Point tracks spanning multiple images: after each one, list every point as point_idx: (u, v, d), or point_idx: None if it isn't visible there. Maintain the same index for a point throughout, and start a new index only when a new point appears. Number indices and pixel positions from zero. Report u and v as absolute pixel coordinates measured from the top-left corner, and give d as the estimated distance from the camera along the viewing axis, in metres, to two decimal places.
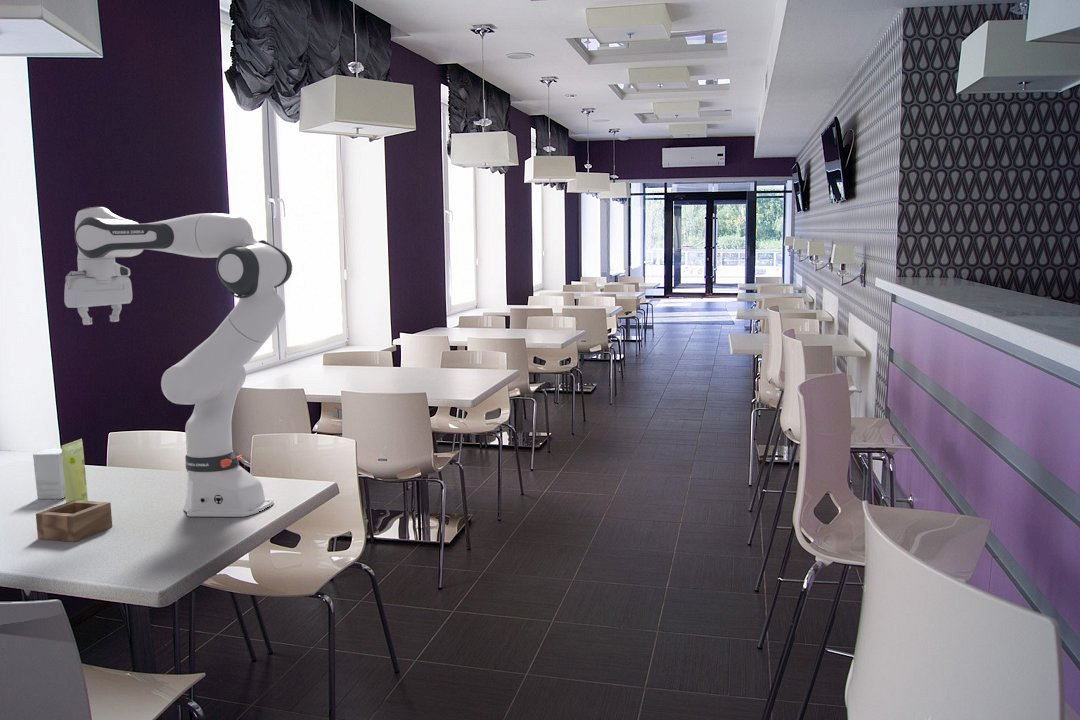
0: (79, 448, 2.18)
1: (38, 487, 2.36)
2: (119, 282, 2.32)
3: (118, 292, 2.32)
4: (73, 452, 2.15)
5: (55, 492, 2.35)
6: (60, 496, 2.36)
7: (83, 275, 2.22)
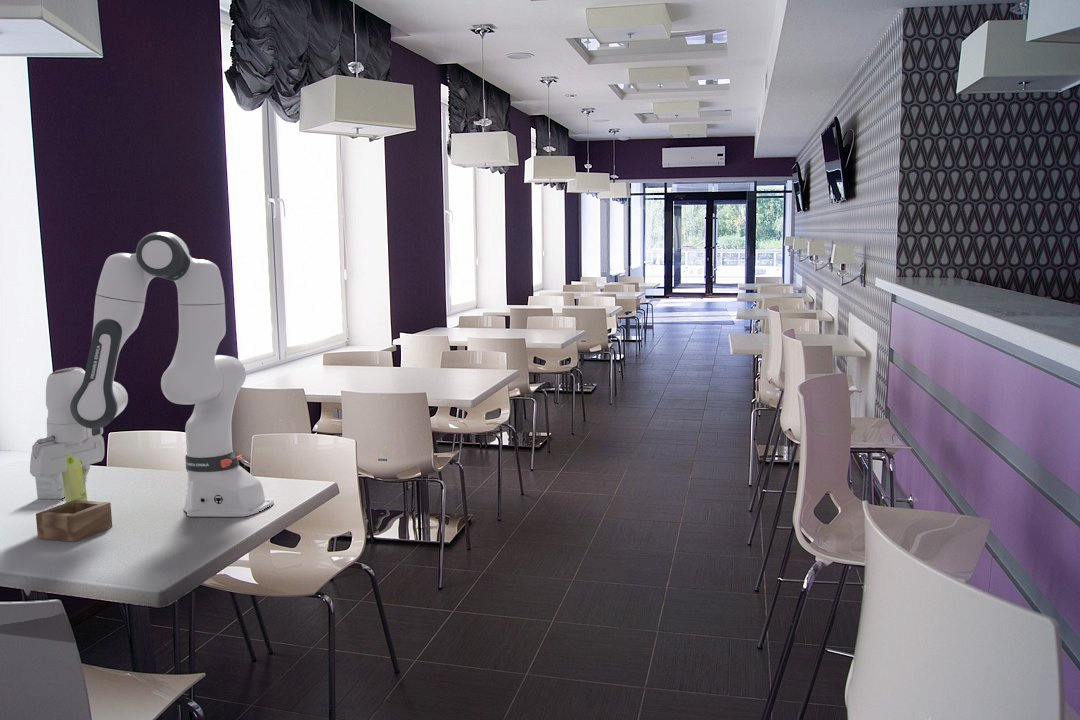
0: None
1: (38, 487, 2.36)
2: (91, 442, 2.21)
3: (88, 452, 2.20)
4: None
5: (55, 492, 2.35)
6: (60, 496, 2.36)
7: (51, 441, 2.11)
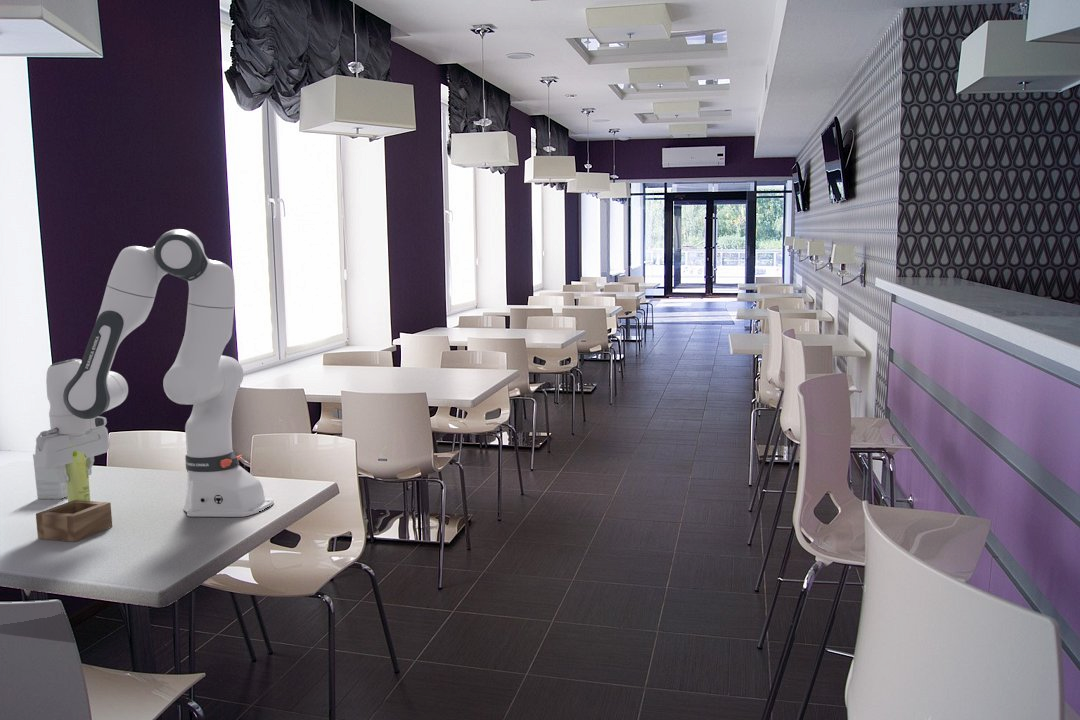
0: None
1: (38, 487, 2.36)
2: (95, 433, 2.21)
3: (93, 443, 2.20)
4: (74, 445, 2.15)
5: (55, 492, 2.35)
6: (60, 496, 2.36)
7: (55, 433, 2.11)
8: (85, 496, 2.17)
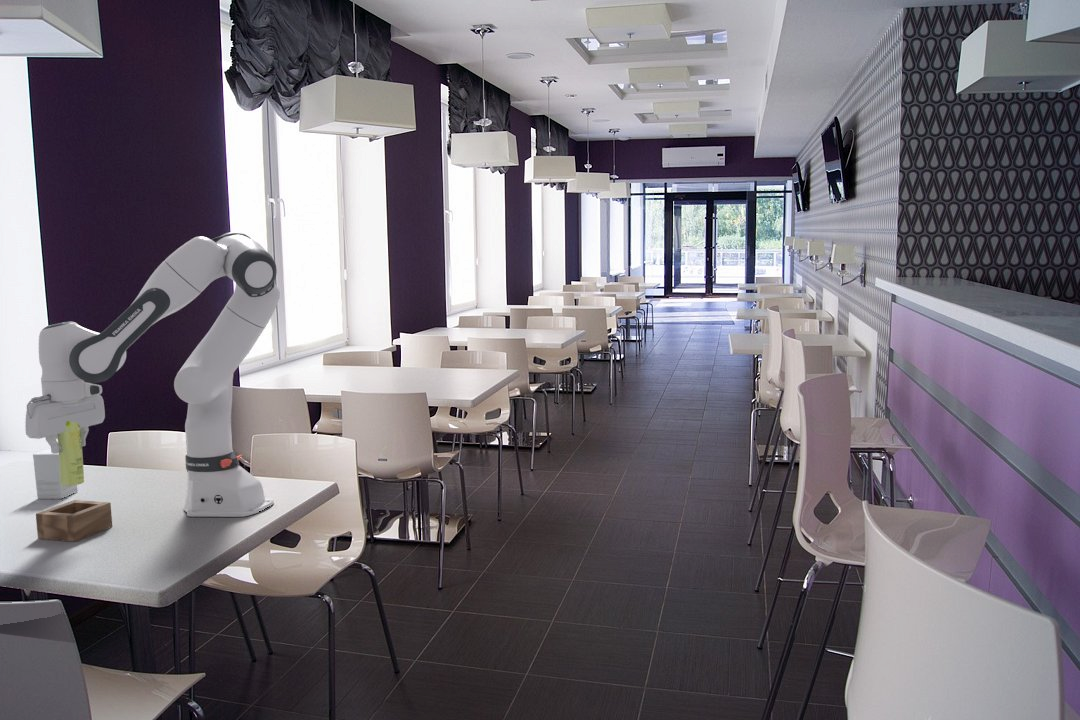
0: None
1: (38, 487, 2.36)
2: (90, 402, 2.08)
3: (88, 413, 2.07)
4: None
5: (55, 492, 2.35)
6: (60, 496, 2.36)
7: (47, 400, 1.98)
8: (78, 468, 2.04)
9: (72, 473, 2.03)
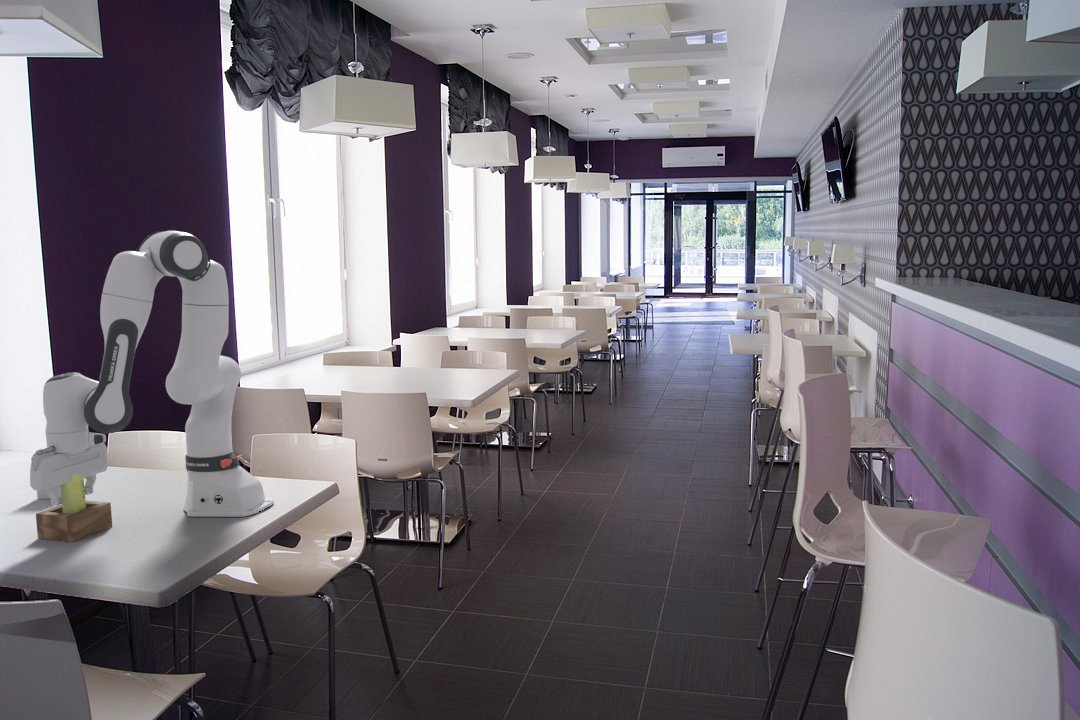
0: None
1: None
2: (94, 451, 2.09)
3: (91, 462, 2.08)
4: None
5: None
6: (60, 496, 2.36)
7: (52, 451, 1.99)
8: None
9: None
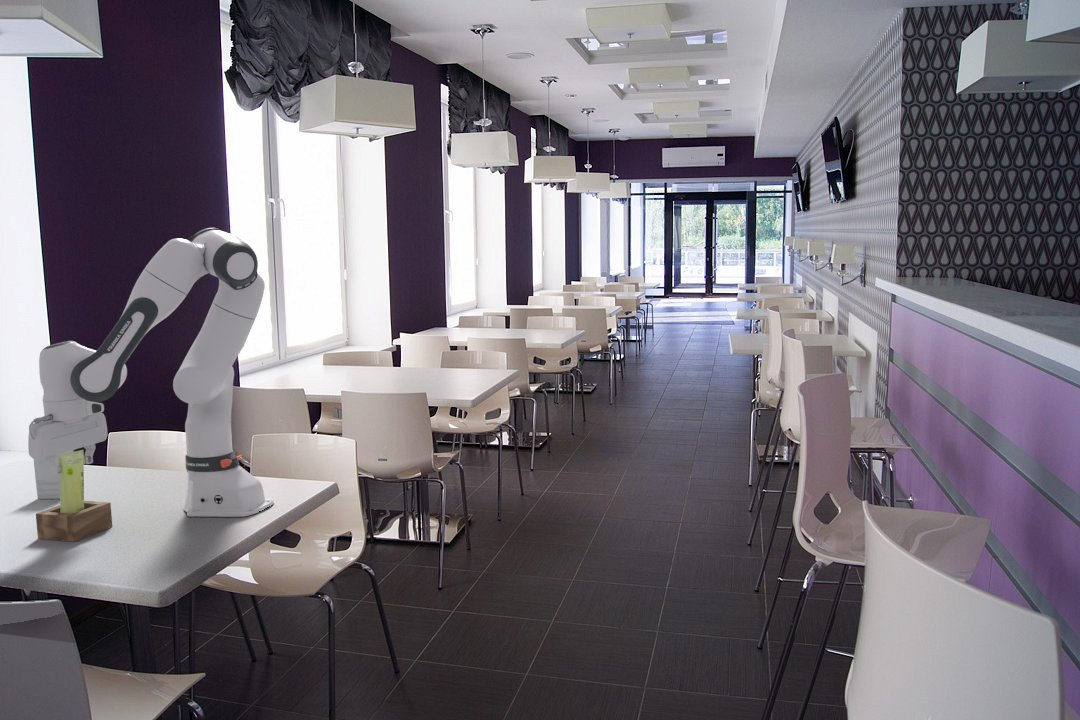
0: (79, 459, 2.05)
1: (38, 487, 2.36)
2: (92, 420, 2.08)
3: (90, 431, 2.08)
4: (71, 463, 2.03)
5: (55, 492, 2.35)
6: None
7: (49, 420, 1.98)
8: None
9: None
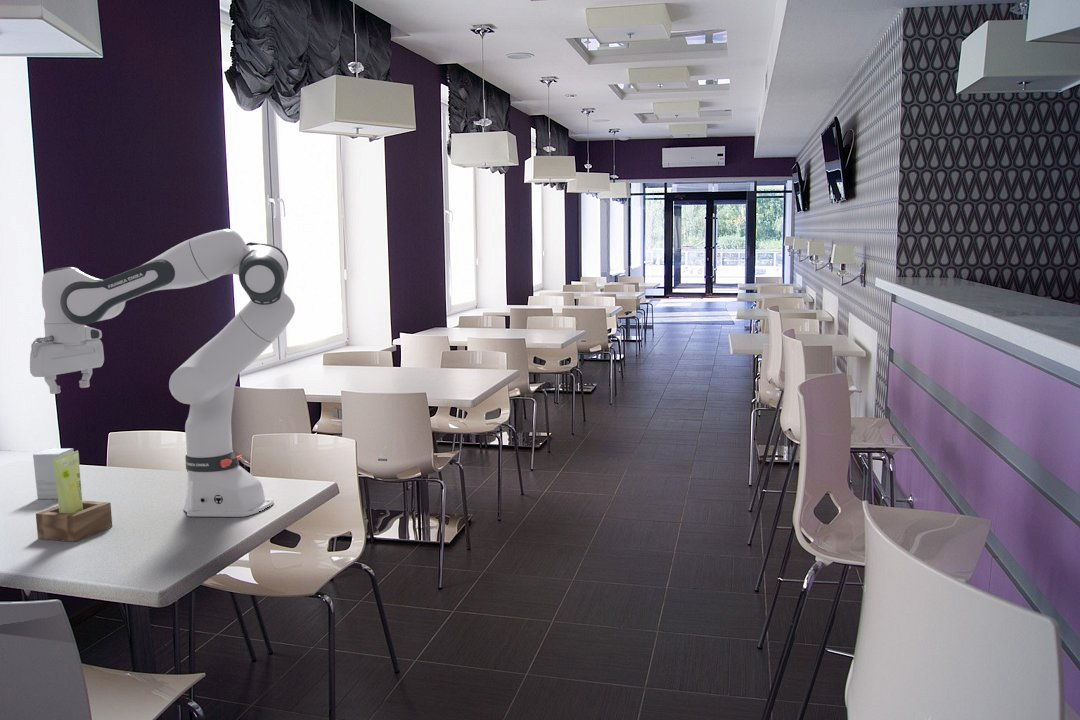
0: (75, 460, 2.04)
1: (38, 487, 2.36)
2: (90, 345, 2.17)
3: (88, 356, 2.16)
4: (66, 465, 2.01)
5: (55, 492, 2.35)
6: None
7: (50, 341, 2.06)
8: None
9: None
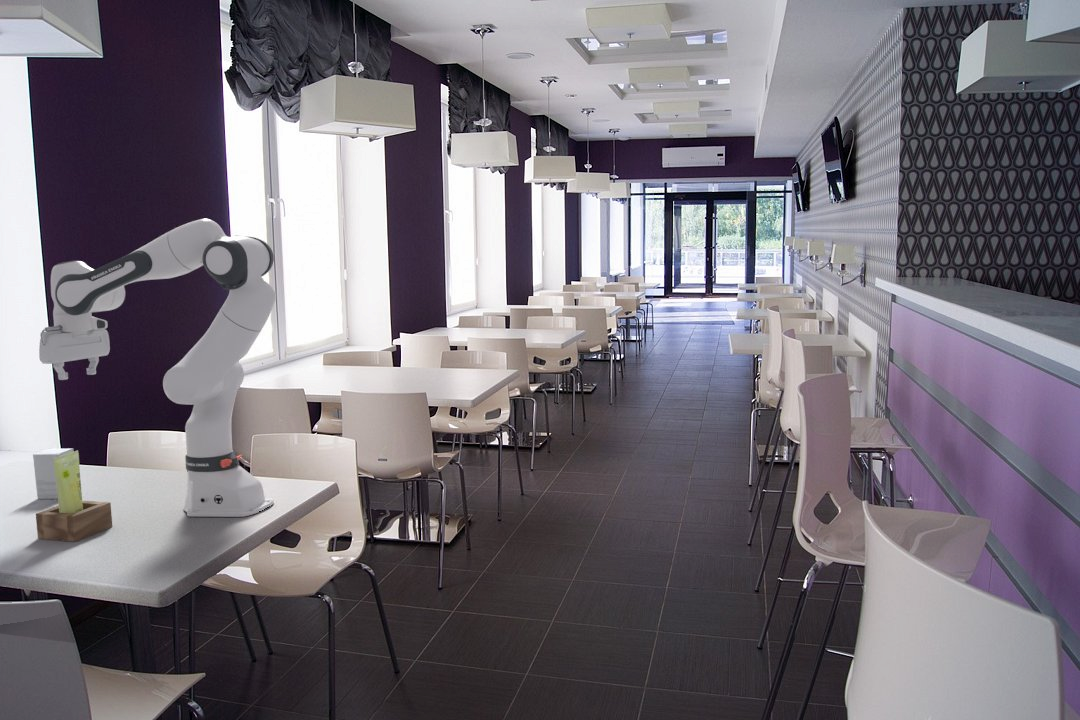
0: (75, 460, 2.04)
1: (38, 487, 2.36)
2: (96, 335, 2.30)
3: (94, 345, 2.30)
4: (66, 465, 2.01)
5: (55, 492, 2.35)
6: None
7: (59, 330, 2.20)
8: None
9: None
